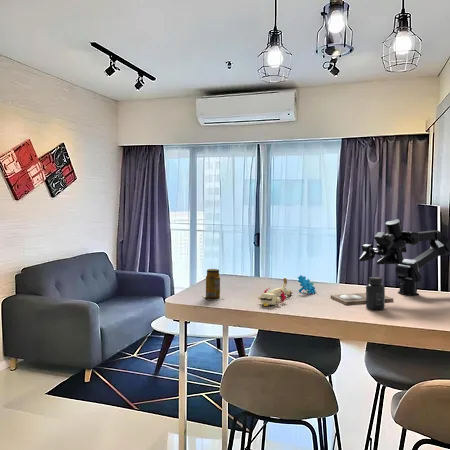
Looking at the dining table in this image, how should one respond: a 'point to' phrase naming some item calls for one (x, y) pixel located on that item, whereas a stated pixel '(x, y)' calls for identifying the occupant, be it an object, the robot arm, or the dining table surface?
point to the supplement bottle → (375, 294)
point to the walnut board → (354, 298)
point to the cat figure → (275, 295)
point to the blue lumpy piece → (306, 285)
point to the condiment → (213, 285)
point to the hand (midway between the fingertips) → (368, 261)
